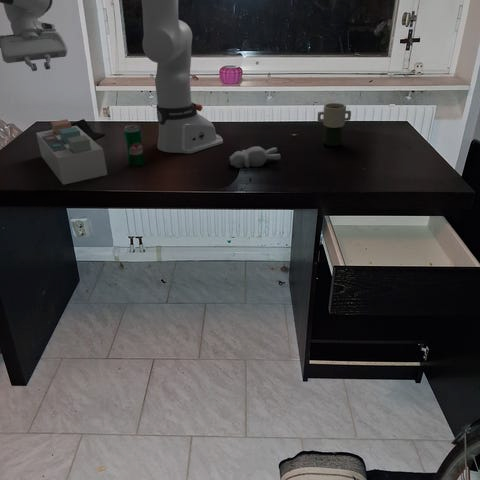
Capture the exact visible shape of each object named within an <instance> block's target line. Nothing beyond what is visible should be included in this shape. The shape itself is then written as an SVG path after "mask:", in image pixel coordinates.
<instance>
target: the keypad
mask: <svg viewBox="0 0 480 480" xmlns="http://www.w3.org/2000/svg"><path fill="white" fill-rule="evenodd" d="M72 127H76V128H77V129H78V130H79V131H80V135H81V136H82V135H85V136H86V137H87V138H88V139H89V140H90V145H91V150H89V151H84V152H79V153H74V154H73V153H72V152H71V151H70V149H69V144H64V143H63V142H62V141H61V138H60V135H57V136H56V135H55V134H54V133H53V129H49V130H45V131H40V132H36V133H35V135H36V138H37V143H38V148H39V151H40V155H41V156H40V157H41V158H42V159H43V160H44V161H45V163H46V164H47V165H48V167H49V168H50V169H51V171H52V172H53V173H54V175H55V176H56V177H57V179H58V180H59V182H61V184H62V185H67V184H73V183H77V182H82V181H85V180H91V179H95V178H99V177H104V176H107V175H108V171H107V164H106V159H105V153H104V148H102V146H101V145H100V144H98V143H97V142H96V141H93V140H92V139H91V138H90V137H89V136H88V135H87V134H85V133H84V132H83V131H82V130H81V129H80V128H79V127H77V126H72Z"/></svg>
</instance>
